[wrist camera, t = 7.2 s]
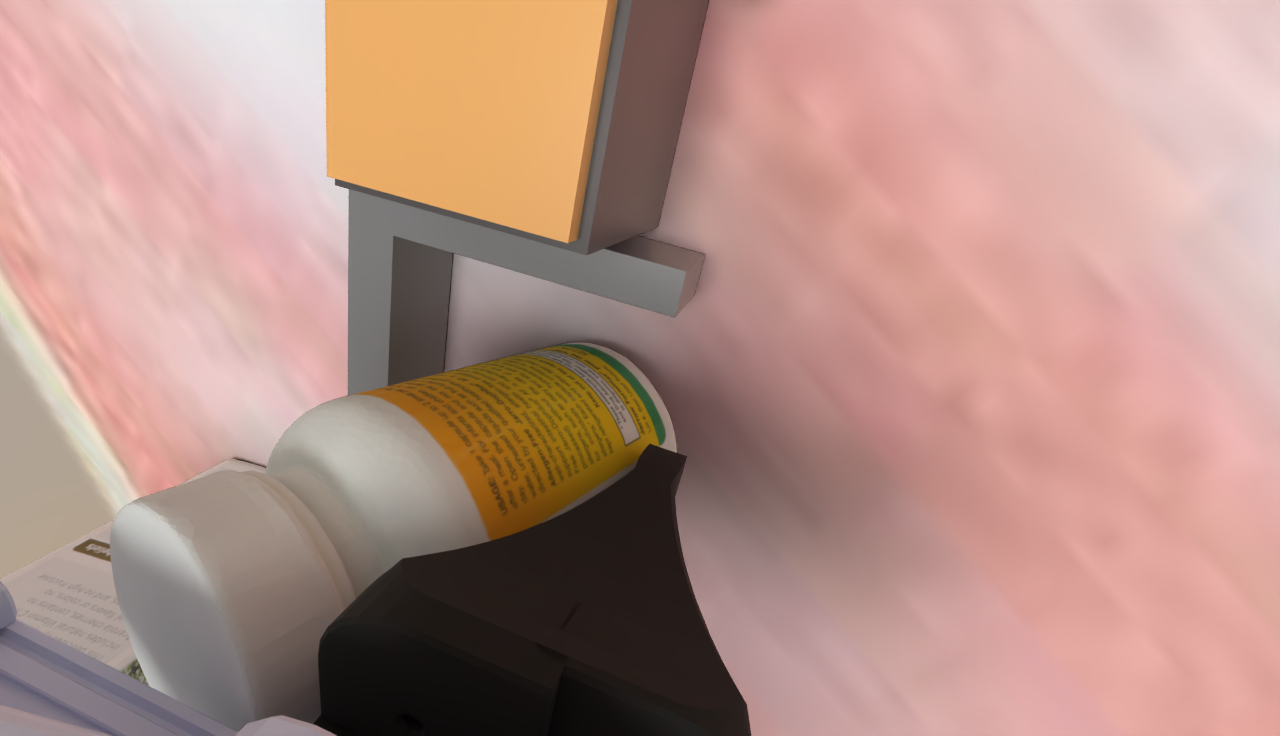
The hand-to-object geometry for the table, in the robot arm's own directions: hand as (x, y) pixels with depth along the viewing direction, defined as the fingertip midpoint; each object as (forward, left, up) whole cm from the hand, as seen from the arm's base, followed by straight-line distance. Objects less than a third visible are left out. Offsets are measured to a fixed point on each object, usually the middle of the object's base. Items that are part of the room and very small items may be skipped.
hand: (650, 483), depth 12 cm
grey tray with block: (+1, +5, -3) cm, 6 cm away
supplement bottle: (-1, +2, -3) cm, 3 cm away
